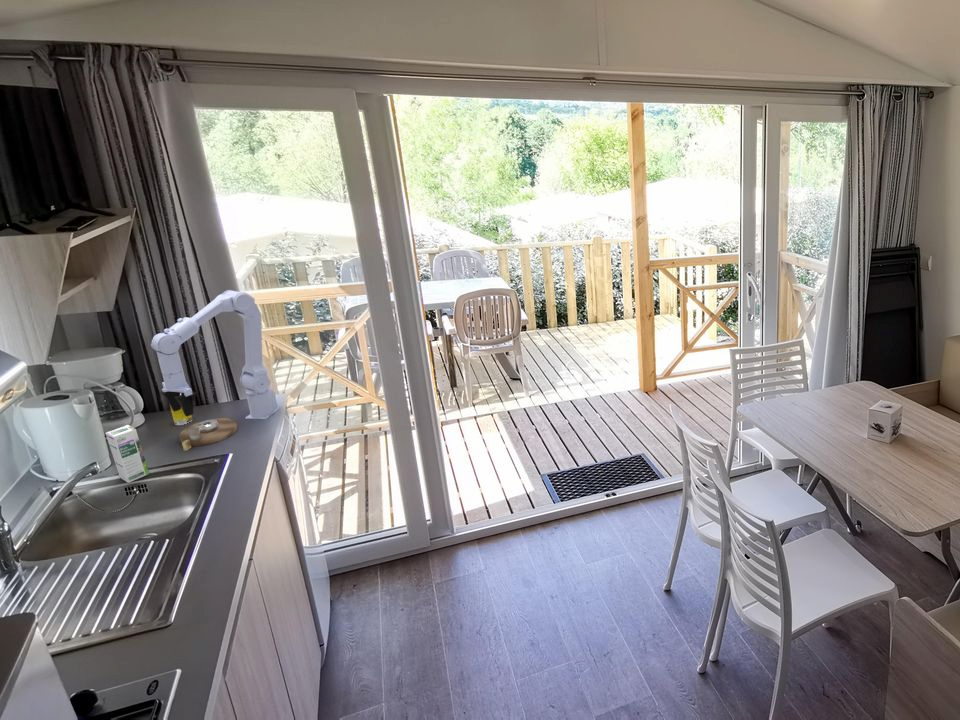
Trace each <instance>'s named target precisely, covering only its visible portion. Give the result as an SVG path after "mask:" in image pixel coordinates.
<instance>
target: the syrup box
mask: <svg viewBox="0 0 960 720" xmlns="http://www.w3.org/2000/svg"><path fill="white" fill-rule="evenodd" d="M138 435H139V434H138V432H137V428H135V427H133V426H131V425H129V424H126V425H124V426H121V427H119V428H115V429H113V430H110V431H106V432H105V436H106V439H107V442H108V446H109V449H110V452H111V454H112V457H113V460H114V463H115V466H116V469H117V473H118V475H119V478H120V479H122V480H123V481H124V482H126V483H127V484H129V483H132V482H134V481H136V480H139V479H142V478H143V477H145V476H148V475H150V472H149V468H148V467H149V466H148V464H147V461H146V458H145V455H144V451H143V448H142V445H141V442H140V439H139V436H138Z"/></svg>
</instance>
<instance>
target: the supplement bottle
mask: <svg viewBox="0 0 960 720" xmlns="http://www.w3.org/2000/svg"><path fill="white" fill-rule="evenodd" d="M180 395H181V393H180ZM169 407H170V412H171V414H172V415H171V416H172V418H173V423H174V425H175V426H184V424H185V425H187V423H188V424H189V422H190V423H192V421H193V417H192V416H193V415H190V416H185V414H184V412H183V410H182V407H181V410H178V411H175V412H174V411H173V410H172V408H171V406H170V405H169Z"/></svg>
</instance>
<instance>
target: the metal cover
mask: <svg viewBox="0 0 960 720" xmlns="http://www.w3.org/2000/svg"><path fill="white" fill-rule="evenodd" d="M202 421H203V422H202ZM202 421H200V422H201V423H199V422H198V423H199V424H198V425H197V426H198V427H199V430H200V433H209V432H212V431H215V430H216V429H218V422H217V420H210V419H207V420H202Z"/></svg>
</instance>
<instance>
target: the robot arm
mask: <svg viewBox="0 0 960 720" xmlns="http://www.w3.org/2000/svg"><path fill="white" fill-rule="evenodd" d="M225 312H228V313H231V312H234V313H236V314H237V315H238V316H239V317H241V318H242V319H243V331H244V332H243V334H244V358H245V359H244V361H245V364H244V366H243V367H242V369H241V370H242V371H241V376H240V377H239V383H240V385H241V386H242V388H244V389H245V395H246V401H247V405H248V409H249V414H248V415H246V417H245V420H246V419H247V420H250V419H251V420H252V419H253V420H266V419H268V418H269V417H271V416H272V415H273V414H275V413H276V412H277V411H279V410H280V408H281V407H280V406H278V403H277V399H276V394H275V393H276V392H275V391H274V389H273V388H272V387H270V386H271V380H270V378H269V376H268V370H267V369H266V366H264V362H263V337H262V335H263V334H262V333H263V332H262V313H261V310H260V309H259V308H258V306H257V304H256V302H255V298H254V297H253V296H252V295H250V294H249V293H247V292H244V291H236V290H232V289H227V290H225V291H224V292H222V293H221V294H218V295H217V296H216V297H215V298H214V299H213V300H211V301H210V302H209V303H208V304H207V305H205V306H204V307H203V308H201V309H200V310H199V311H198V312H197V313H195V314H194V315H193V316H191V317H187V316H184V317H183V318H182V317H180V318H177V320H176V321H177V322H175V323H174V324H173V325H172V326H170V327H169V328H168V327H167V328H165V329H164V330H163V331H164V332H161V333H157V334H155V335H153V338H152V340H151V343H150V347H151V348H152V350H154V351H155V352H156V355H157V360H158V364H159V368H160V372H161V375H162V378H163V382H161V385H162V388H161V391H160V395H162V396H163V397H164V398H165V400H166V401H167V403H168V404H169V407H170V406H171V408H172V410H173V411H174V412H175V411H178V410H181V407H182V410H183V412H184V414H185V416H190V415H191V416H193V415H194V404H195V399H196V397H197V393H196V392H195V391H193V390H192V388H191V387H190V385H189V384H188V382H187V380H186V377H185V372H184V369H183V364H182V360H181V356H180V354H179V350H180V349H181V348H180V347H181V345H182V344H183V343H185V342H186V341H188V340H189V339H191V338H192V337H194V335H196V334H197V333H199V331H200V326H202V325H203V324H205V323H207V322H208V321H209V320H211V319H212V318H214V317H215V316H217V315H219V314H220V313H225ZM180 394H181V395H180ZM171 408H170V409H171Z"/></svg>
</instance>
